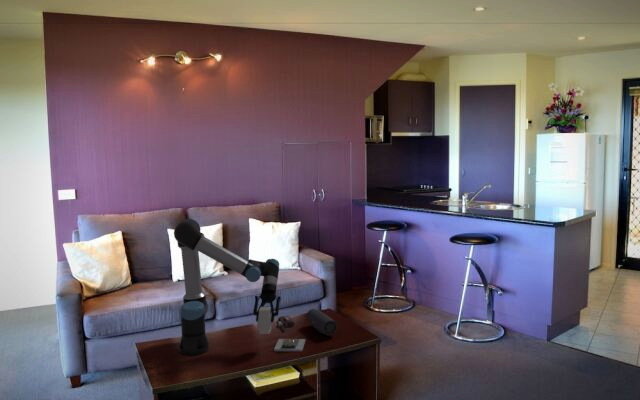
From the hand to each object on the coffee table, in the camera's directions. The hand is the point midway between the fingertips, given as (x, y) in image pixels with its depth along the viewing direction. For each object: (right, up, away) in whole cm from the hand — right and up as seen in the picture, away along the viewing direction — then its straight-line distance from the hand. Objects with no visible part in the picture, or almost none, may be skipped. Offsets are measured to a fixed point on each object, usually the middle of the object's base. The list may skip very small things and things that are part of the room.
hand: (263, 327), depth 259 cm
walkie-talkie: (+9, -9, +39) cm, 40 cm away
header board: (+13, -11, +8) cm, 18 cm away
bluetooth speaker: (+28, -9, +28) cm, 41 cm away
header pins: (+12, -11, +3) cm, 16 cm away
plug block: (0, -3, +4) cm, 5 cm away
